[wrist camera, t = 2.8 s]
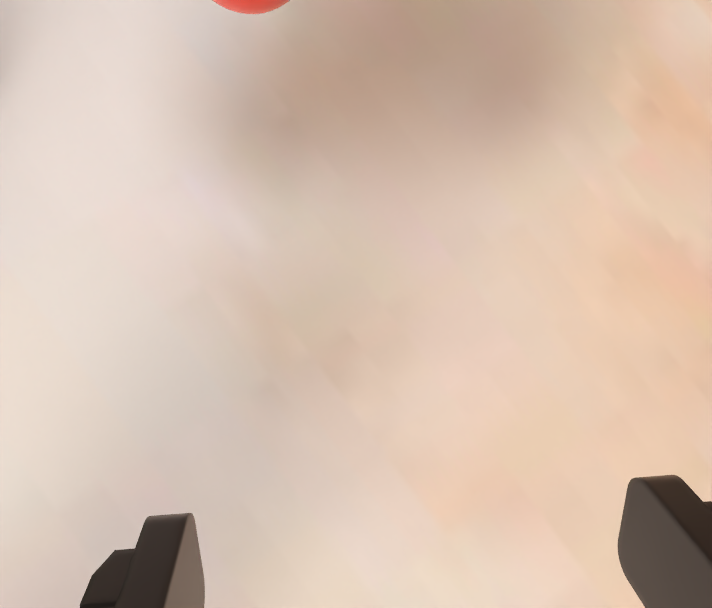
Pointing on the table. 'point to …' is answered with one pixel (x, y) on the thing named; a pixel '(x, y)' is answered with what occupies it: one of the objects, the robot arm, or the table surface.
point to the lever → (251, 5)
